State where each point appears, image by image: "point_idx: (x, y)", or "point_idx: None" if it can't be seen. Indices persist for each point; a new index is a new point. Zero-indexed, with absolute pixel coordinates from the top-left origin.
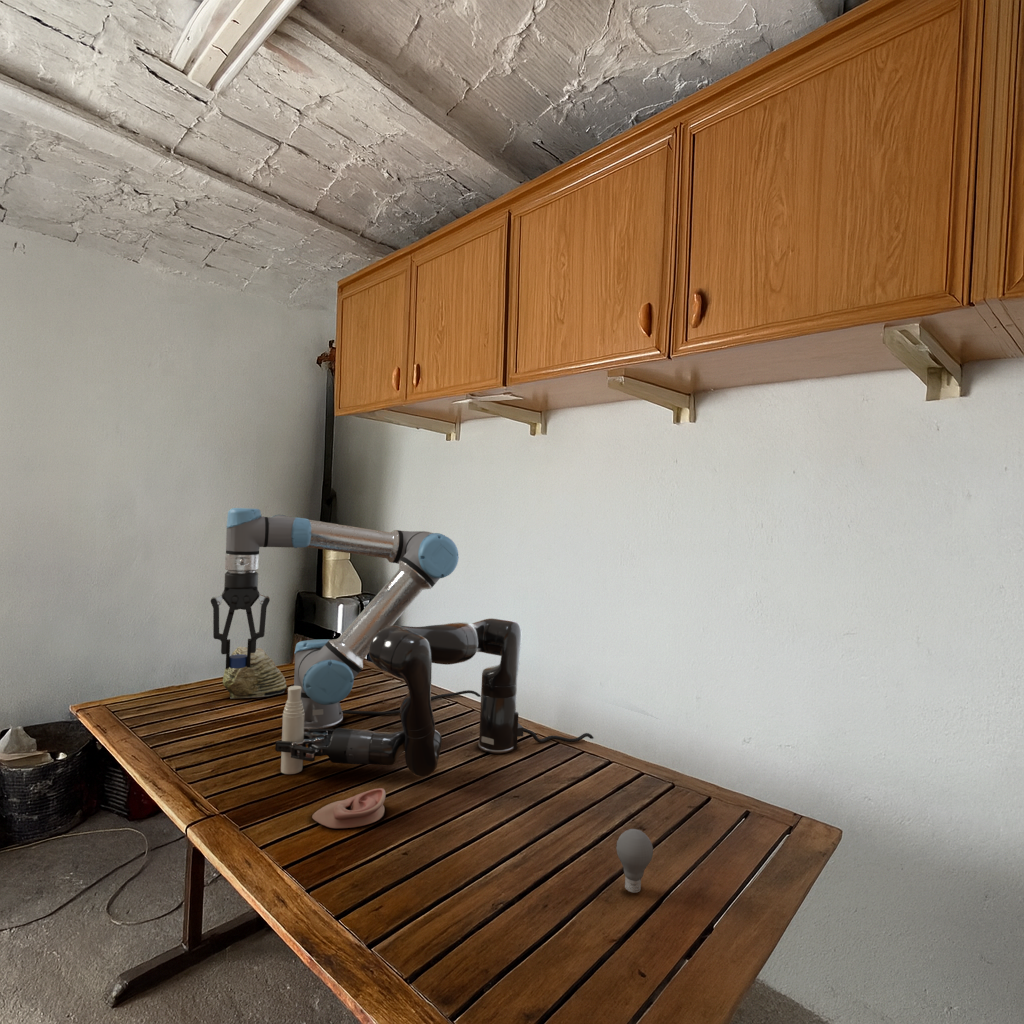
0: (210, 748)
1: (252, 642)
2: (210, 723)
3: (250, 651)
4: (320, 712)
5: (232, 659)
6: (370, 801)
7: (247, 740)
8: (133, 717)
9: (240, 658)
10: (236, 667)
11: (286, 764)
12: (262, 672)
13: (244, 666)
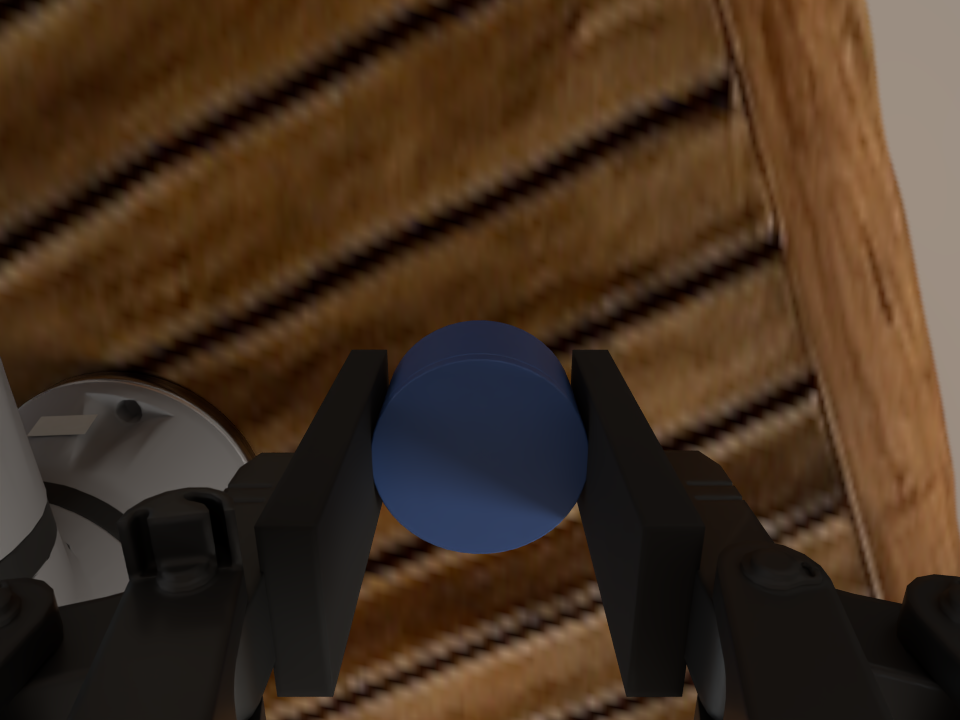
0: (582, 306)
1: (248, 543)
2: (579, 585)
3: (310, 431)
4: (50, 423)
5: (550, 379)
6: None
7: None
8: None
9: (452, 362)
10: (495, 325)
11: None
12: None
13: (410, 350)
